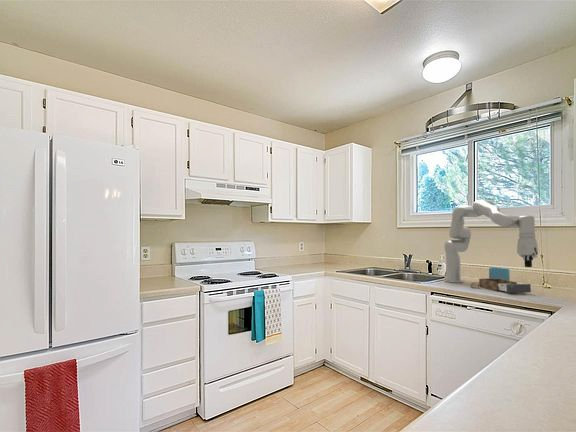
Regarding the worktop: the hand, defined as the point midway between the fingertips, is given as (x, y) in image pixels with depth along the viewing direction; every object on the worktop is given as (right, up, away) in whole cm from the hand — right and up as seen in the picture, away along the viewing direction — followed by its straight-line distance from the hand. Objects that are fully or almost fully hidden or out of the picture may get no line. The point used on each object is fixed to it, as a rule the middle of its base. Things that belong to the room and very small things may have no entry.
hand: (528, 266), depth 184 cm
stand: (-16, -19, +26) cm, 36 cm away
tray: (-2, -17, +14) cm, 22 cm away
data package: (+10, -20, +40) cm, 45 cm away
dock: (-2, -19, +22) cm, 29 cm away
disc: (-2, -17, +15) cm, 23 cm away
